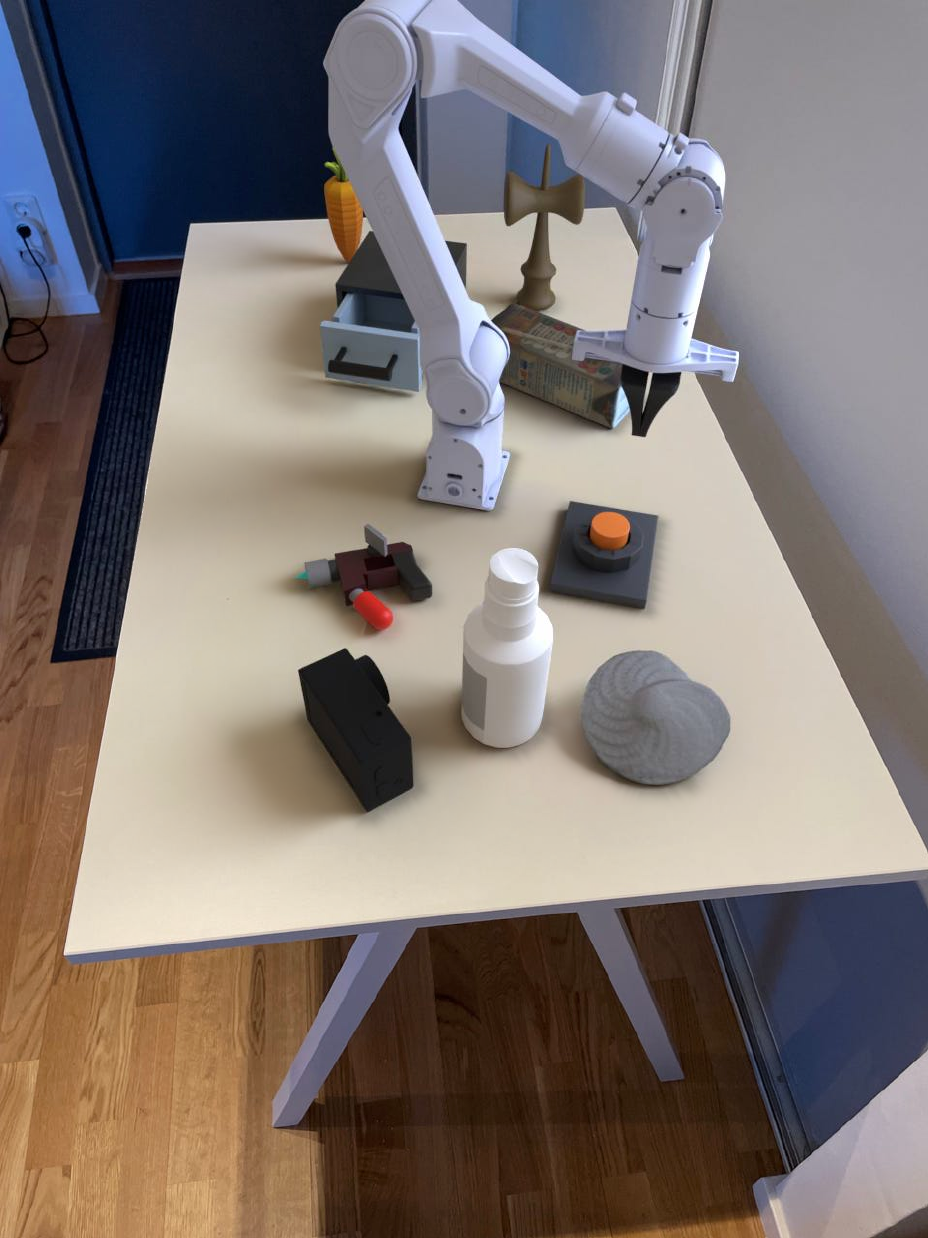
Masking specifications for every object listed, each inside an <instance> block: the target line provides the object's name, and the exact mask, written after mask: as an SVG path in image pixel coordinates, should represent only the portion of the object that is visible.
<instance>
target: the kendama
mask: <svg viewBox="0 0 928 1238" xmlns="http://www.w3.org/2000/svg"><path fill="white" fill-rule="evenodd" d="M551 149H552V148H551V144H550V143H547V144H546V146H545V150H544V154H543V155H544V156H543V163H542V172H541V182H540V186H539V185H534V184H531V183H528V182H527V181H526V180H524V179H523V178H522V177H520V176H519V175H517V173H515V172H513V171H511V170H509V171H507V172H506V175H505V179H504V188H503V218H504V223H505V226H506V227H511V226H513V225H515V224H517V223H518V222H519V221H520V220H522V219H523V218H525V217H527V216H528V215H531V214H536V221H535V227H534V232H533V238H532V241H531V246H530V250H529V254H528V257H527V259H526V261H525V262H524V263H522V264H521V266H520V272H521V275H522V276H523V284H522V287H521V289H519V290H518V291H517V293H516V301H517V303H518V305H520V306H524V307H526V308H529V309H532V310H535V311H541V310H546V309H549V308H551V307H553V306H554V305H555V303H556V295H555V293H554V291H553V290H552V289H551V283H552V282H551V281H552V279H553V277H555V275H556V273H557V268H556V265H555V264H554V263H553V262H552V260H551V254H550V239H549V238H550V235H549V214H555V215H557V216H560V217H562V218H563V219H565V220H567V222H569V223H572V225H576V226H578V225H580V224H581V223H582V221H583V217H584V212H585V207H586V206H585V205H586V204H585V203H586V184H585V179H584V178H585V177H583V176H582V175H580V174H579V173H577V174H575V175H573V176H571V177H570V178H568V179H566V180H565V181H563V182H561V183H558V184H556V185H550V178H551V159H552V157H551V156H552V152H551Z"/></svg>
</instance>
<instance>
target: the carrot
mask: <svg viewBox="0 0 928 1238" xmlns="http://www.w3.org/2000/svg"><path fill="white" fill-rule="evenodd" d="M331 149H332V151H333V154H334V157H335V159H336V161H337V162H335V161H332V162H329V161H326V162H325V163H324V167H325V168H327V169H329V170H330V171H332V172H333V173H334V176H331V178H329V179H328V180H327V181H326V182H325V183H324V186H323V189H324V190H323V192H324V198H325V200H324V201H325V207H326V215H327V220H328V224H329V227H330V230H331V234H332V238H333V240H334V243H335V245H336V248H337V249H338V251H339V253H340V254H341V256H342V258H343V259H344V261H345V262H346V263H347V264H348V263H349V262H350V260H351V259H352V257H353V256H354V254H355V253H356V251H357V250H358V248H359V246H360V244H361V239H362V232H363V224H364V223H363V222H364V211H363V209H362V207H361V205H360V203H359V201H358V199H357V196H356V194H355V192H354V190H353V188H352V186H351V184H350V182H349V179H348V177H347V175H346V173H345V171H344V169H343V167H342V165H341V163H340V160H339V158H338V156H337V154H336V152H335V150H334V148H333V146H332V147H331Z"/></svg>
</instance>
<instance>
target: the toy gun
mask: <svg viewBox="0 0 928 1238" xmlns="http://www.w3.org/2000/svg"><path fill="white" fill-rule="evenodd" d="M363 530H364V540H365V541H364V542H365V543H366V544H367V547H364V548H358V549H353V550H348V551H341V552H336V553H334V558H333V559H329V560H328V559H327V558H322V559H321V558H320V559H317V560H311V561H305V562H304V564H303V565H304V569H305V571H304V572H302V573H300V574H298V575H296V576H295V578H298V579H304V580H307V585H308V588H309V589H314V588H321V587H325V586H331V585H332V583H335V582H339V585H340V588H341V592H342V597H343V600H344V605H345V607H348V606H351V605H353V609H354V610H355V611H357V613H358V614H360V615H361V616H362V617H363V618H364V619H365V620H366V621H367V622H368V623H369V624H370V625H371V626H372V627H373V628H375V629H377V630H379V631H380V630H381V631H383V630H386V629H388V628H390V627H391V625H392V624H393V621H394V615H393V612H392V611H391V610H390V608H388V607H387V606H386V605H385V603H383V602H382V601H381V600H379V598H377V597H376V596H375V595H374V594H373V593H372V592H371V591H372V590H376V589H381V588H386V587H392V586H400V587H401V588H402V589H403V591H404V593H406V595H407V596H408V598H409V599H410V600H411V601H414V602H416V601H422V600H427V599H430V598H432V597H433V584H432V582H431V581H430V580H429V577H427V575H426V574H425V573H424V572H423V570H422V569H421V567H420V566H419V564H418V563H417V560H416V557H415V554H414V549H413V547H412V545H411V544H409V543H408V542H407V543H406V542H405V541H399V542H393V543H388V539H387V537H386V536H385V535H383V533H381V532H380V531H379V530H377V528H375V527H373V526H372V525H371V524H369V523H366V524H365V525H363ZM370 590H371V591H370Z"/></svg>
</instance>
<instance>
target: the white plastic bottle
mask: <svg viewBox="0 0 928 1238" xmlns="http://www.w3.org/2000/svg"><path fill="white" fill-rule="evenodd" d="M538 572H539V563H538V561H537V558H536V557H535V556H534V555H533V554H532V553H531V552H529V551H527V550H525V549H522V548H518V547H507V548H503V549H501V550H497V552H495V553H494V554H493V555H492V556H491V557H490V560H489V562H488V576H487V577H486V580H485V582H484V594H483V595H484V597H483V598H484V599H483V602H482V603H480V604H478V605H476V607H474V609H472V610H471V611H470V612H469V613H468V614H467V617H466V620H465V622H464V624H463V628H462V629H463V631H462V633H463V635H462V641H463V642H462V673H461V674H462V675H461V676H462V677H461V678H462V679H461V721H462V723H463V725H464V728H465V729H466V731H467V732H468V733H469V734H470V735H471V736H472V738H474V739H475V740H476V741H478V742H480V743H482V744H483V745H485V746H486V745H487V746H489V747H492V748H501V749H502V748H503V749H504V748H507V749H509V748H513V747H516V746H521V745H522V744H524V743H526V742H527V741H529V740H530V739H532V738H533V737H534V736H535V735H536V733H537V732H538V731H539V729H540V727H541V724H542V721H543V717H544V711H545V703H546V695H547V688H548V681H549V673H550V667H551V659H552V653H553V646H554V626H553V625H552V622H551V621H550V618H549V616H548V615H547V614H546V613H545V612H544V611H543V610H542V609H541V608H540V607H539V604H538V603H539V593H540V584H539V582H538V574H539V573H538Z"/></svg>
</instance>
